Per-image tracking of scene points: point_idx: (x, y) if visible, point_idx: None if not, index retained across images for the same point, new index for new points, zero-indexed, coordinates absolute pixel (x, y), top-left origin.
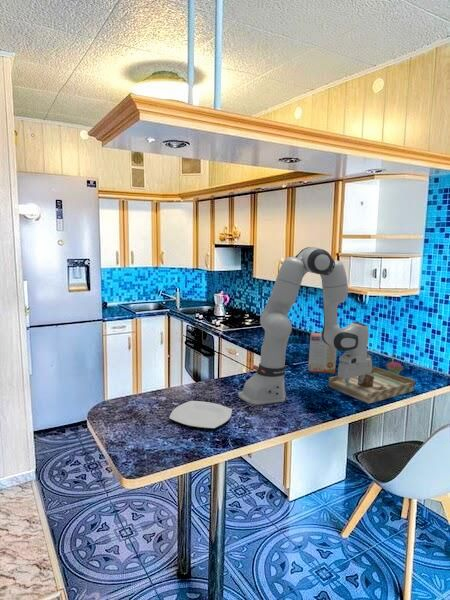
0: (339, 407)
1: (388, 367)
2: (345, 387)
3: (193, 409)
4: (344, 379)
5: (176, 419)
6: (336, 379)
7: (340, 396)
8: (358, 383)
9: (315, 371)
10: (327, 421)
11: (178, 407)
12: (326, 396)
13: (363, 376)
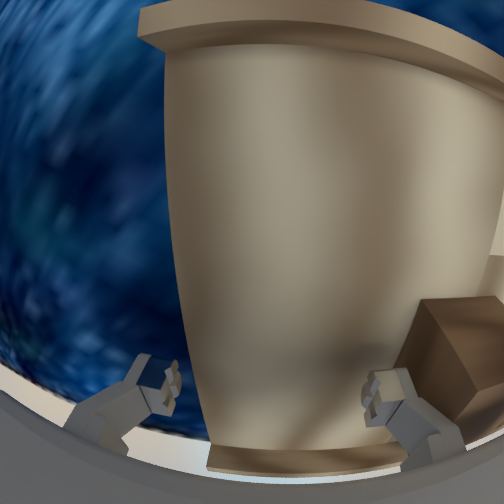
0: (56, 360)
1: None
2: (205, 291)
3: None
4: (83, 402)
5: None
6: (302, 38)
7: (119, 295)
8: (424, 317)
9: None
10: (10, 369)
11: None
12: (39, 242)
13: (402, 465)
